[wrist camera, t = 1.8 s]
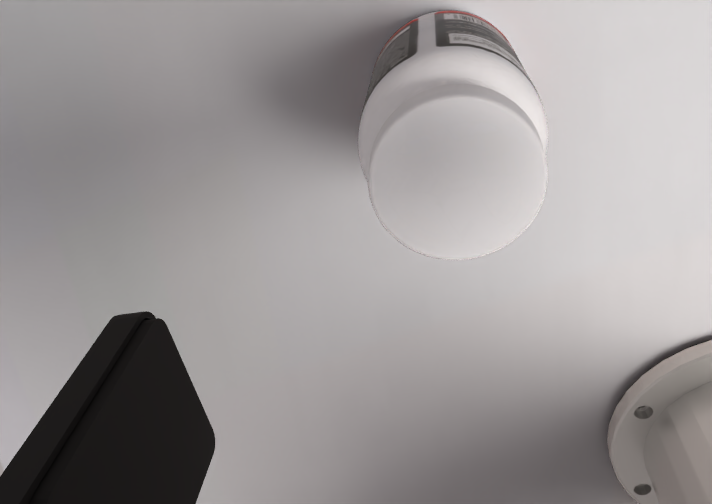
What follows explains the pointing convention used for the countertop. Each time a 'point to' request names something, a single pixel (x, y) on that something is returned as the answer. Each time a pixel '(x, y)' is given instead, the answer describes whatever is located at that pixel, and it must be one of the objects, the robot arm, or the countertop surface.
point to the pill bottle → (453, 138)
